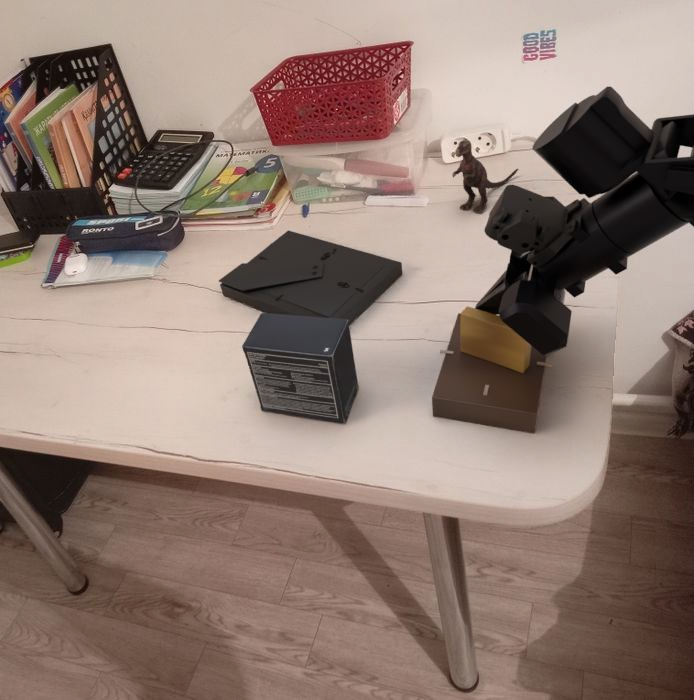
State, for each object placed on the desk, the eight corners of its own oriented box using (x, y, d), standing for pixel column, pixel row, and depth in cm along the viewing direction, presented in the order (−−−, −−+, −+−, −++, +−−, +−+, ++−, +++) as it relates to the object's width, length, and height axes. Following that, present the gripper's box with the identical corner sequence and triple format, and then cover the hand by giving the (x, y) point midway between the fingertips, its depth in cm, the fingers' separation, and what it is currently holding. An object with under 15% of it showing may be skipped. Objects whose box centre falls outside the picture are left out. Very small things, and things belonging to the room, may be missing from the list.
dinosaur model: (449, 143, 86) (508, 104, 92) (443, 217, 94) (498, 177, 100) (475, 149, 83) (534, 108, 90) (467, 225, 91) (522, 183, 97)
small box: (361, 384, 73) (351, 316, 66) (346, 425, 69) (333, 357, 62) (278, 373, 78) (261, 309, 71) (259, 411, 74) (239, 347, 67)
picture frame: (223, 295, 93) (333, 340, 80) (218, 280, 91) (330, 324, 78) (290, 241, 100) (402, 274, 86) (287, 226, 98) (401, 257, 84)
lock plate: (453, 331, 76) (452, 311, 74) (555, 342, 70) (558, 321, 68) (426, 415, 67) (425, 395, 65) (541, 435, 62) (544, 414, 60)
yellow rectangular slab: (460, 351, 69) (460, 311, 65) (466, 343, 69) (466, 304, 66) (523, 373, 64) (527, 332, 61) (529, 365, 65) (533, 323, 61)
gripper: (559, 117, 58) (440, 215, 71) (534, 226, 47) (398, 320, 59) (642, 192, 60) (512, 276, 72) (638, 316, 48) (483, 390, 61)
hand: (478, 310), depth 66 cm, fingers closed
